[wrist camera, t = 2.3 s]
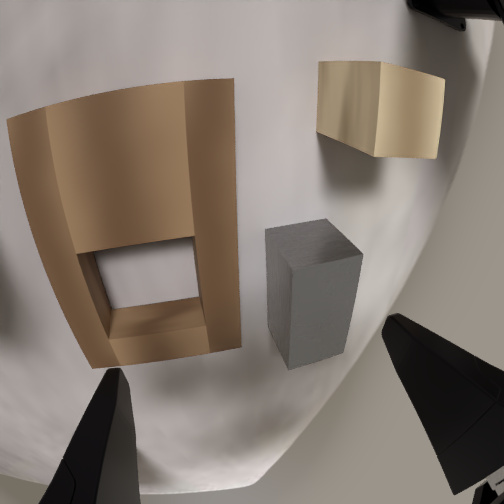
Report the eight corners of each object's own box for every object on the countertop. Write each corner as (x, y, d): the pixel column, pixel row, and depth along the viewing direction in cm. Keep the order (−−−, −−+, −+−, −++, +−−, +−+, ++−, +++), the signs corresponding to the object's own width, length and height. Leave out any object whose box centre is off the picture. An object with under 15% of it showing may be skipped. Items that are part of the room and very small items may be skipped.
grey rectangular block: (325, 217, 22) (363, 254, 17) (316, 311, 26) (343, 352, 22) (264, 227, 21) (292, 270, 17) (267, 324, 25) (288, 370, 21)
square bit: (377, 70, 17) (445, 79, 12) (373, 133, 19) (436, 158, 14) (318, 61, 16) (380, 61, 11) (316, 131, 18) (373, 156, 13)
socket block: (222, 78, 15) (234, 78, 12) (231, 319, 24) (241, 347, 21) (29, 111, 12) (6, 119, 10) (95, 339, 21) (92, 368, 19)
